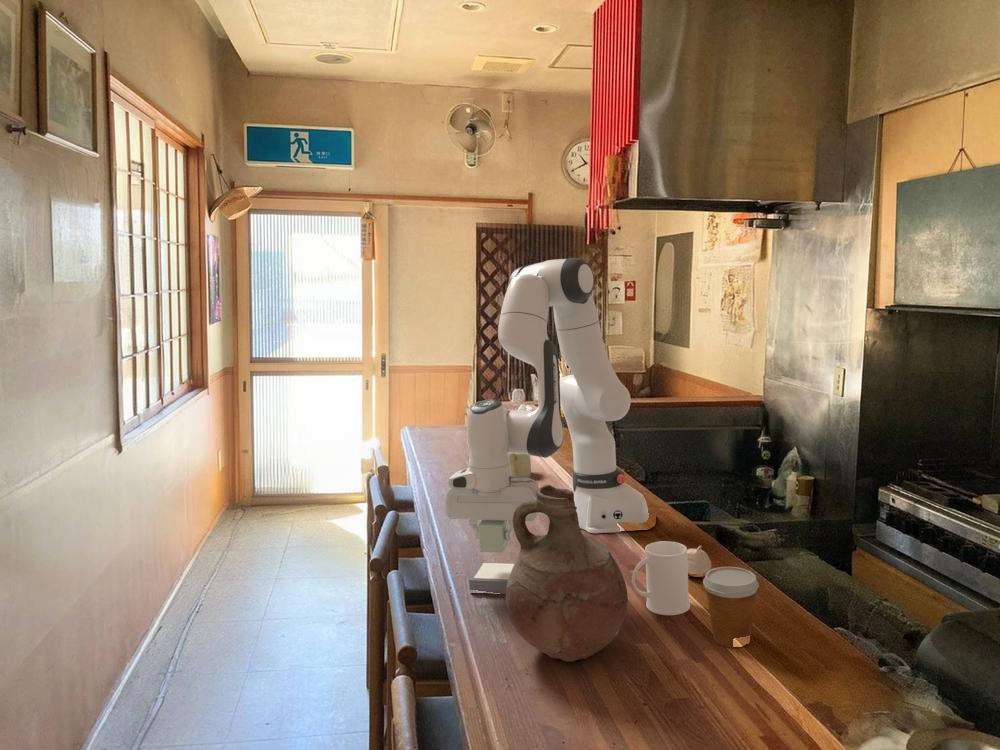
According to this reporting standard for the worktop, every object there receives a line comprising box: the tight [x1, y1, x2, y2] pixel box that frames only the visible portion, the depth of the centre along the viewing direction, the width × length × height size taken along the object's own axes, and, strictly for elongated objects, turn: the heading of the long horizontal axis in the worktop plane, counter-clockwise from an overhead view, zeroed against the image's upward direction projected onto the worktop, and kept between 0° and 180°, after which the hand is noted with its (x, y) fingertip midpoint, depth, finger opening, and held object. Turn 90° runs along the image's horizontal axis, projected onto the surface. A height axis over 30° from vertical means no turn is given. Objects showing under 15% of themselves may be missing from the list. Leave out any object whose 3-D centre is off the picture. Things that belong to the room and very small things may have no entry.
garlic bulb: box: [687, 545, 712, 575], centre depth 168 cm, size 7×6×8 cm
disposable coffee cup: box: [702, 566, 760, 649], centre depth 139 cm, size 10×10×12 cm
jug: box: [505, 484, 629, 662], centre depth 138 cm, size 22×22×30 cm
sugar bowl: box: [507, 452, 532, 477], centre depth 254 cm, size 15×11×15 cm
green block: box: [478, 520, 509, 553], centre depth 169 cm, size 5×5×6 cm
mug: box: [631, 540, 691, 616], centre depth 154 cm, size 12×8×12 cm
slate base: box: [468, 561, 515, 594], centre depth 171 cm, size 10×10×3 cm
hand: (493, 538), depth 169 cm, fingers closed on green block, 5 cm apart
